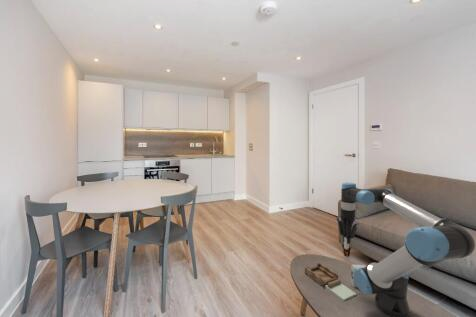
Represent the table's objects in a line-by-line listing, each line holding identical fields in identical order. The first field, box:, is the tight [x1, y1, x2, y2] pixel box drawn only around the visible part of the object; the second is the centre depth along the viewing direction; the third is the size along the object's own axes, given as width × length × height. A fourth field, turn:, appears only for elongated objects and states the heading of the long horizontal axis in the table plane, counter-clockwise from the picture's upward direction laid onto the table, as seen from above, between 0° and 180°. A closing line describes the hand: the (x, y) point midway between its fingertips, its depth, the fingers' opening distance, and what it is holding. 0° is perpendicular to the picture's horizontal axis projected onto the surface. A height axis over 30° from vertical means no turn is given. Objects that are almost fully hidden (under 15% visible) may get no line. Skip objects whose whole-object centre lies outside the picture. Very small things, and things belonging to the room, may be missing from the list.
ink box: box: [349, 264, 367, 288], centre depth 133 cm, size 9×5×12 cm, turn 84°
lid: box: [324, 278, 357, 302], centre depth 128 cm, size 13×11×4 cm
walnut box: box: [304, 262, 339, 288], centre depth 140 cm, size 15×13×4 cm
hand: (346, 248), depth 131 cm, fingers closed
